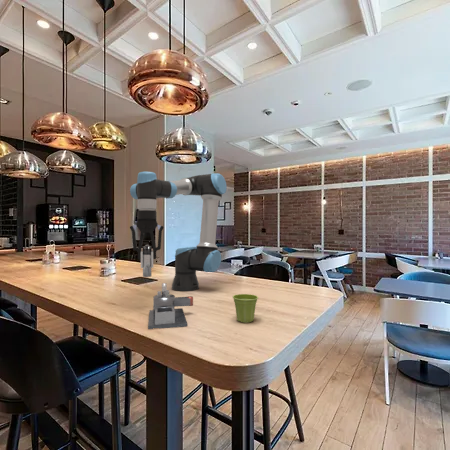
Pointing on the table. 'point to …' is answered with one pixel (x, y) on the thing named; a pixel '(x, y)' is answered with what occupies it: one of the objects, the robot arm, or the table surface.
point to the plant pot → (245, 307)
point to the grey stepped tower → (147, 261)
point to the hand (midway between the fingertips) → (147, 267)
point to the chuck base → (166, 318)
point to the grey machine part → (170, 299)
